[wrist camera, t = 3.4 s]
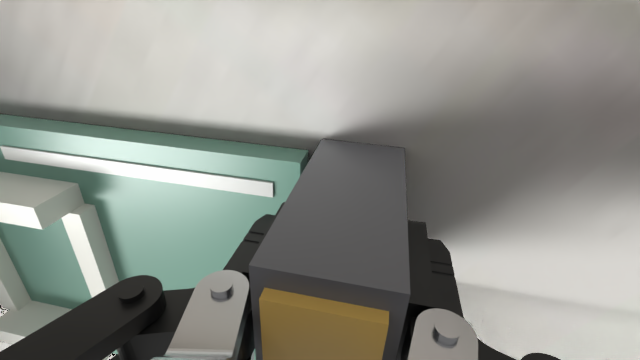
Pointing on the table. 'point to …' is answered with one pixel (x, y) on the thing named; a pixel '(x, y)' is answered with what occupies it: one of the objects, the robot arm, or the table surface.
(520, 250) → the table surface
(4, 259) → the board
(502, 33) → the table surface
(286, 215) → the switch
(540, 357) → the robot arm
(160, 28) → the table surface
